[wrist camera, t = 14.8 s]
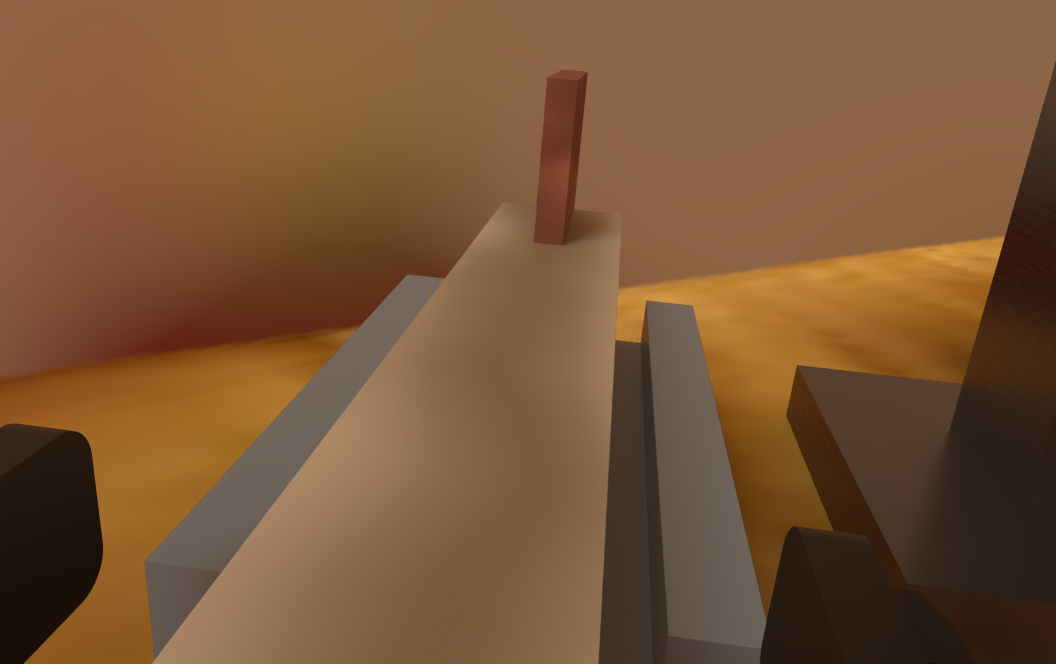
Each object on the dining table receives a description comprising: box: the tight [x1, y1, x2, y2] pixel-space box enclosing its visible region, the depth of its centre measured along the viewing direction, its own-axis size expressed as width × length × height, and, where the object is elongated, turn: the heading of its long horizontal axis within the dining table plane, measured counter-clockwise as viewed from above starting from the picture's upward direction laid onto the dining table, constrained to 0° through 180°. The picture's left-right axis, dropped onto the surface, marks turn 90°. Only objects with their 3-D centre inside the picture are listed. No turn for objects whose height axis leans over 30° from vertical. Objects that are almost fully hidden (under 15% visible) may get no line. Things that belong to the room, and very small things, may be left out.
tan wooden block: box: [152, 70, 622, 664], centre depth 15 cm, size 4×26×8 cm, turn 173°
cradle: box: [145, 275, 766, 664], centre depth 20 cm, size 10×16×4 cm, turn 173°
